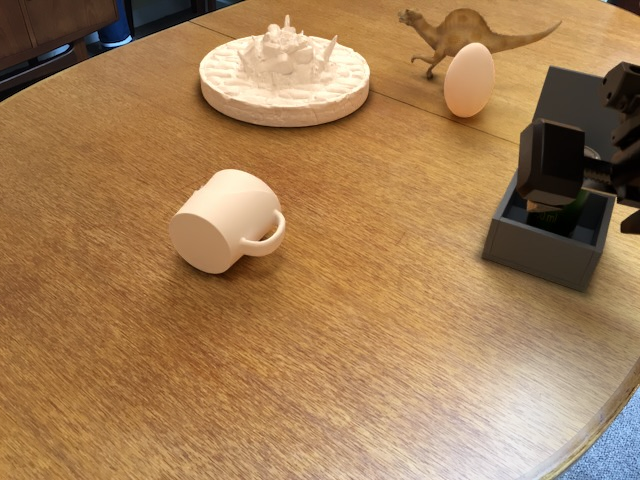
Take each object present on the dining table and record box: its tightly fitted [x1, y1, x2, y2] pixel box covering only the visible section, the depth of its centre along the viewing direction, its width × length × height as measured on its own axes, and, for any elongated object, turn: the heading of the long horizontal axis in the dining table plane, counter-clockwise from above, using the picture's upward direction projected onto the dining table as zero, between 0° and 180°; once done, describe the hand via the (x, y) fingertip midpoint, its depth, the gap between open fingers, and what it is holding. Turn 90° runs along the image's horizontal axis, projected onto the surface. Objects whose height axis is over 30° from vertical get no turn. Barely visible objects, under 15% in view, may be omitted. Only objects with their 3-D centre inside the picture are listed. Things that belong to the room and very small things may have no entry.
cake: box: [198, 14, 371, 128], centre depth 97 cm, size 28×28×10 cm
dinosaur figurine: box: [397, 6, 563, 79], centre depth 98 cm, size 8×26×13 cm, turn 74°
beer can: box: [525, 146, 600, 239], centre depth 67 cm, size 5×5×12 cm
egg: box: [443, 43, 496, 119], centre depth 91 cm, size 7×7×12 cm
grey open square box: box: [480, 167, 617, 293], centre depth 69 cm, size 12×12×6 cm
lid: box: [530, 64, 621, 162], centre depth 68 cm, size 12×12×1 cm
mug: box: [168, 168, 287, 275], centre depth 66 cm, size 12×9×8 cm
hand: (575, 217), depth 55 cm, fingers open, 9 cm apart
